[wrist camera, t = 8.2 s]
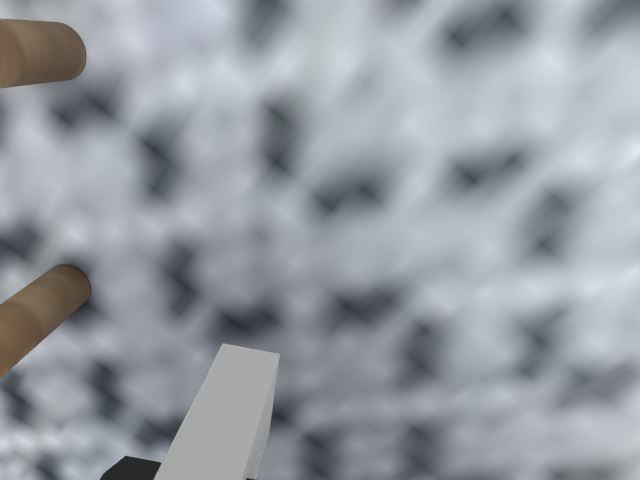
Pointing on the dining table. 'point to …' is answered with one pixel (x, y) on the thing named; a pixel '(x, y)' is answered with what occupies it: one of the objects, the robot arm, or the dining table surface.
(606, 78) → the dining table surface
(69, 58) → the post
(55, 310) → the post
